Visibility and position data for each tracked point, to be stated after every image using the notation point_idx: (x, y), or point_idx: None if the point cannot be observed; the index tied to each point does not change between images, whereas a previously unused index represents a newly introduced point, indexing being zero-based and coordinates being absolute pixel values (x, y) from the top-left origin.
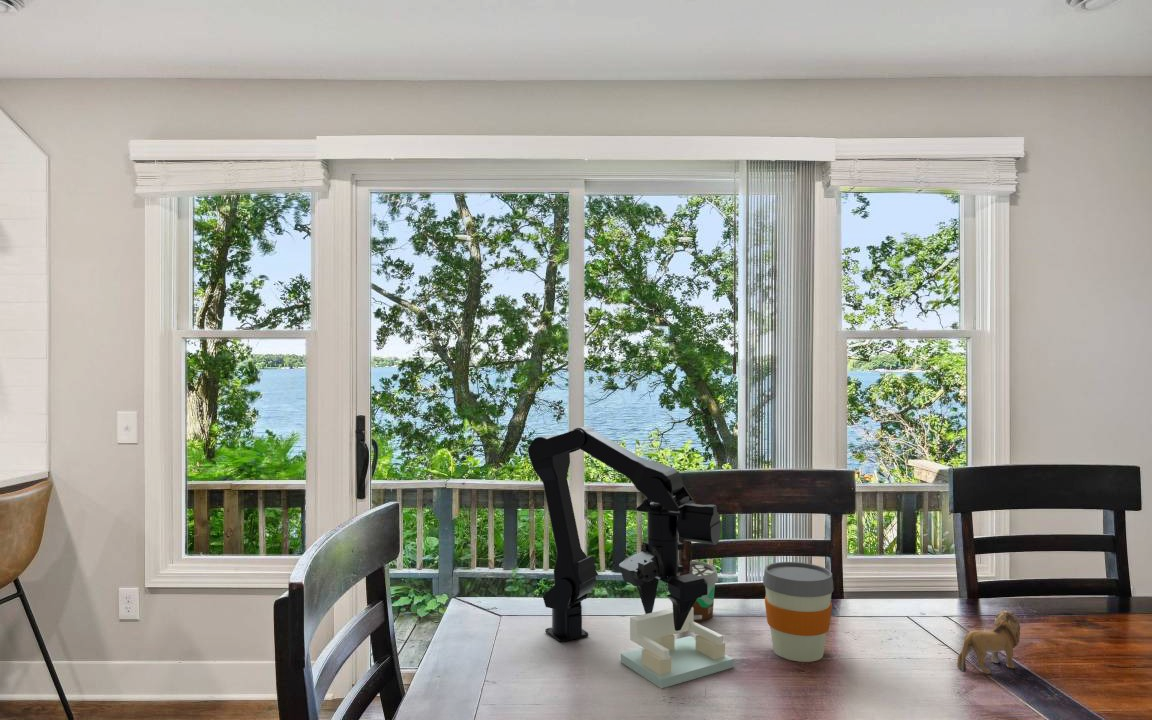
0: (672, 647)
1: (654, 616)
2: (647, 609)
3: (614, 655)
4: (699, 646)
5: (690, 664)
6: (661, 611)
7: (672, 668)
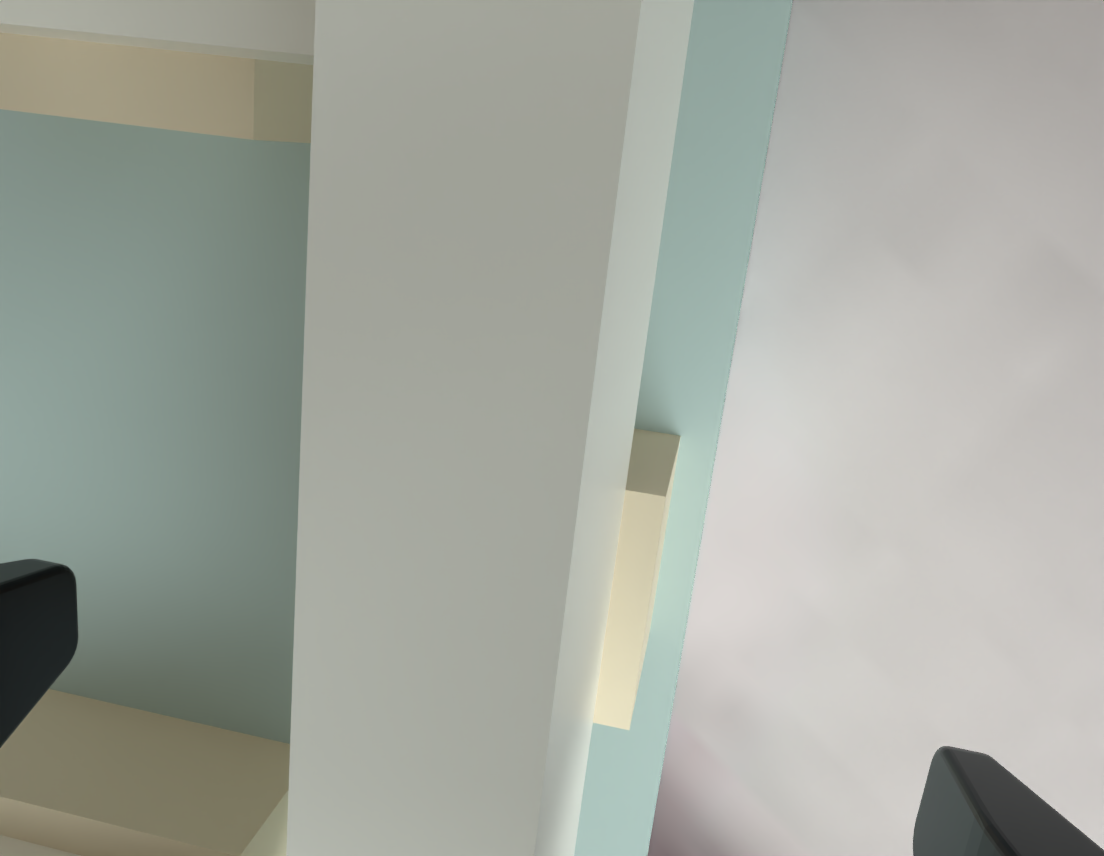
0: None
1: (331, 501)
2: (958, 837)
3: (1025, 10)
4: (224, 769)
5: (59, 418)
6: (481, 850)
7: (75, 181)
